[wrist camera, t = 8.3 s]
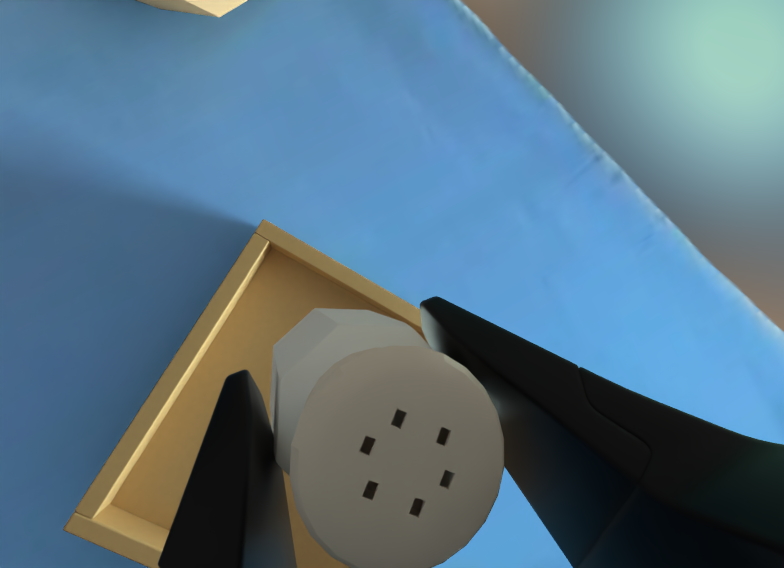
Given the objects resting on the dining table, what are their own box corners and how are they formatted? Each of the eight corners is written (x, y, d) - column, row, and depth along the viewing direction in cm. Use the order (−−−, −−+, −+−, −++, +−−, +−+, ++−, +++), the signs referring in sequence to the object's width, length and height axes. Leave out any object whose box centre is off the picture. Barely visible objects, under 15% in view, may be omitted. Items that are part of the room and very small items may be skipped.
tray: (376, 632, 20) (385, 671, 18) (92, 505, 18) (61, 530, 16) (500, 364, 23) (521, 368, 21) (267, 230, 21) (263, 218, 19)
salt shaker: (426, 337, 16) (648, 344, 6) (373, 467, 15) (524, 773, 5) (304, 281, 16) (298, 171, 5) (240, 414, 15) (56, 634, 4)
